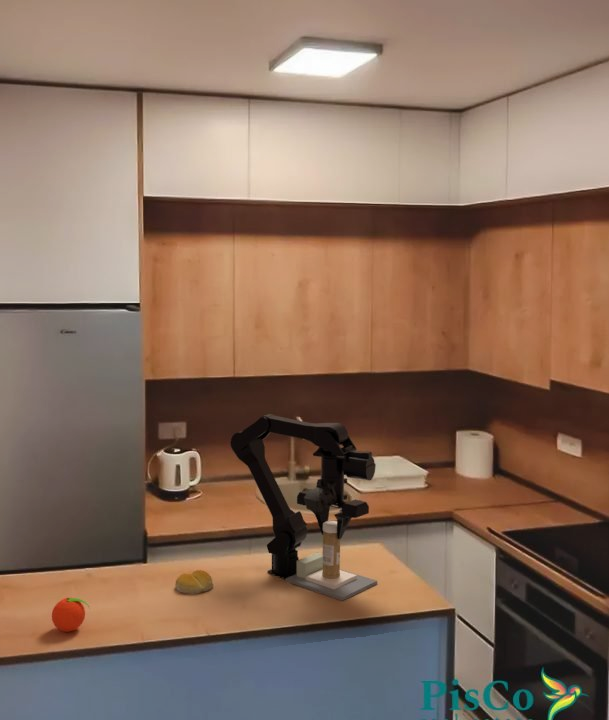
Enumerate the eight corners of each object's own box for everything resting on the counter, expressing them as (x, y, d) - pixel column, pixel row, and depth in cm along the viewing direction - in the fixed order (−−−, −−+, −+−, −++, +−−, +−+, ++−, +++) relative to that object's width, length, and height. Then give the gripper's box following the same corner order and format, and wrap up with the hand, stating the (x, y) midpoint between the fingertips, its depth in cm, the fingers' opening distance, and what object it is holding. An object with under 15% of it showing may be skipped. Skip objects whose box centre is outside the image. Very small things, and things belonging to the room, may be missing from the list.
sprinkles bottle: (343, 576, 200) (344, 524, 199) (328, 580, 198) (329, 527, 196) (332, 570, 204) (333, 519, 203) (318, 574, 202) (319, 522, 200)
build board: (285, 581, 202) (285, 562, 201) (321, 566, 212) (321, 548, 212) (342, 600, 190) (342, 581, 189) (377, 583, 200) (377, 565, 200)
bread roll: (170, 586, 198) (170, 571, 198) (204, 579, 203) (204, 564, 203) (183, 598, 191) (183, 581, 191) (218, 590, 196) (217, 574, 196)
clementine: (92, 621, 178) (91, 590, 177) (89, 635, 171) (88, 603, 170) (54, 624, 176) (53, 592, 176) (49, 638, 169) (48, 605, 169)
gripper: (282, 474, 198) (281, 536, 200) (342, 488, 186) (341, 553, 188) (311, 466, 207) (310, 525, 208) (370, 479, 194) (369, 542, 196)
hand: (331, 536), depth 200 cm, fingers open, 5 cm apart
